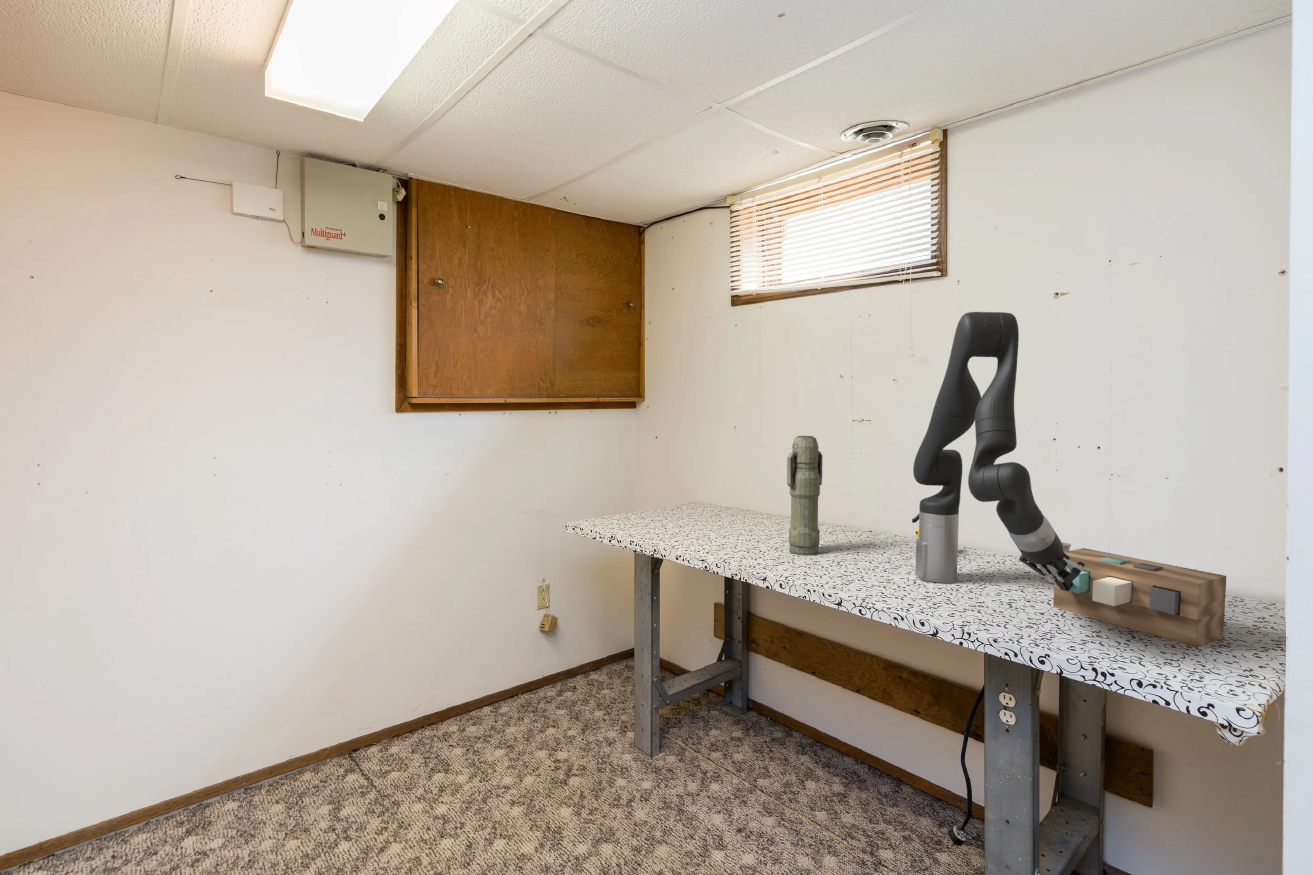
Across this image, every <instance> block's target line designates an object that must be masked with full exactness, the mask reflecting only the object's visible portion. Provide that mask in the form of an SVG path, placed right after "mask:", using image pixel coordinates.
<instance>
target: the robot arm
mask: <svg viewBox="0 0 1313 875" xmlns="http://www.w3.org/2000/svg"><path fill="white" fill-rule="evenodd" d="M1019 335H1020V334H1019V324H1018V320H1017V317H1016V316H1015V315H1014V314H1012V313H1011V312H1004V311H1003V312H1001V311H995V312H994V311H969V312H966V313H964V314H963V315H962V316H961V317H960V319H959V320H958V322H957V324H956V329H955V332H954V337H953V340H952V345H951V350H950V354H949V357H948V364H947V366H946V367H947V368H946V371H945V374H944V376H943V377H944V378H943V380H942V383H941V385H940V389H939V391H938V394H937V397H936V400H935V403H934V406H933V410H932V413H931V417H930V421H929V424H928V426H927V429H926V433H925V435H924V437H923V440H922V441H921V444H920V446H919V447H918V449H917V453H916V455H915V458H914V462H913V467H912V468H913V469H912V471H913V477H914V480H915V481H916V482H917V484H920V485H923V486H932V487H933V486H937V487H939V486H942V488H941V490H939V491H938V492H937V493H936V494H934V495H931V496H928V497H925V498H923V499H921V500H920V502H919V508H918V509H919V513H918V514H919V520H918V521H919V522H918V529H919V538H916V540H915V576H916V577H917V578H918V579H920V580H921V581H923V582H924V581H925V582H931V583H938V584H939V583H940V584H950V583H956V582H957V581H958V561H959V560H958V558H959V556H958V555H959V553H958V552H959V550H958V549H959V526H960V525H959V523H960V522H959V519H960V515H959V514H960V503H961V489H962V478H963V459H962V455H961V454H960V452H959V451H958V450H956V449H945V448H946V447H947V446H948V445H950V444H952V443H954V441H956V440H957V439H959V438H960V437H961V436H963V435H964V434H966V433H967V432H968V431H969V430H970V429H971V427H972V426H973V425H974V428H975V441H976V442H975V448H974V453H973V458H972V461H971V466H970V468H969V472H968V480H967V483H968V484H967V485H968V486H967V487H968V489H969V492H970V494H971V496H972V497H973V498H974V499H975V500H977V501H978V502H982V503H990V502H997V504H996V509H995V510H996V511H995V512H996V514H997V516H998V518H999V520H1000V521H1001V522H1002V524H1003V525H1004V527H1005V528H1006V530H1007V532H1008V534H1009V537H1010V538H1011V539H1012V541H1013V542H1014V544H1015V545H1016V547H1017V549H1018V551H1019V552H1020V553H1021V554H1020V557H1018V560H1019V561H1020V562H1021V563H1022V564H1025V565H1026V566H1027V567H1028V568H1030V569H1031V570H1033V571H1034V572H1036V573H1038V575H1040V576H1042V577H1047V575H1048V576H1049V578H1050V579H1052V580H1054V582H1055V583H1056V585H1057V586H1058V587H1059V588H1060V589H1061V590H1065V591H1069V590H1071V588H1072V586H1073V584H1074V583H1073V582H1072V581H1073V580H1074V579H1075V578H1076V577H1077V576H1079V575H1080V573H1081V571H1082V569H1083V567H1084V566H1085V564H1084V563H1083V562H1078V563H1075V562H1073V561H1071V560H1070V557H1069V556H1068V555H1067V554H1065V553H1064V551H1063V545H1062V542H1063V541H1062V540H1061V539H1060V537H1059V536H1058V534H1057V532H1056V531H1055V529H1054V528H1053V526H1052V524H1051V522H1050V521H1049V520H1048V519H1047V517H1046V516H1044V514H1043V512H1042V511H1041V509H1040V508H1039V506H1038V504H1037V503H1036V501H1035V498H1034V495H1033V490H1032V482H1031V475H1030V473H1029V470H1028V469H1027V468H1026V467H1025V466H1024V465H1023V464H1020V463H1019V462H1014V461H1011V462H1003V463H995V462H996V461H997V459H999V458H1000V457H1003V456H1005V455H1007V454H1009V453H1012V452H1013V451H1015V450H1016V448H1017V444H1018V443H1017V442H1018V441H1017V440H1018V439H1017V429H1016V428H1017V427H1016V419H1015V418H1016V417H1015V416H1016V415H1015V390H1016V382H1017V381H1016V380H1017V372H1018V371H1017V368H1018V355H1019V338H1020V337H1019ZM973 357H974V358H996V360H997V367H996V372H995V374H994V377H993V378H992V380H991V381H990V384H989V385H988V387H987V389H986V390H985V391H984V392H983V395H982V396H981V392H980V390H979V387H978V386H977V384H976V382H975V380H974V378H973V376H972V374H971V373H970V370H969V365H968V364H969V362H970V359H972V358H973ZM1066 566H1068V567H1069V570H1070V571H1068V570H1067V568H1066Z"/></svg>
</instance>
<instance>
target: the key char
mask: <svg viewBox="0 0 1313 875" xmlns="http://www.w3.org/2000/svg"><path fill="white" fill-rule="evenodd" d="M1180 599H1181V591H1176V590H1172V589H1167V588H1163V587H1158V586H1157V587H1153V588H1151V590H1150V609H1154V610H1158V611H1162V612H1166V613H1170V614H1178V613H1180Z"/></svg>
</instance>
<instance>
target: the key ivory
mask: <svg viewBox="0 0 1313 875" xmlns="http://www.w3.org/2000/svg"><path fill="white" fill-rule="evenodd" d="M1132 594H1133V581H1131V580H1127V579H1122V578H1118V577H1113V576H1112V577H1108V578H1103V579H1099V580H1095V581H1093V595H1092V601H1096V602H1100V603H1104V604H1108V605H1111V606H1117V605H1120V604H1124V603H1127V602H1131V601H1132Z"/></svg>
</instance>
